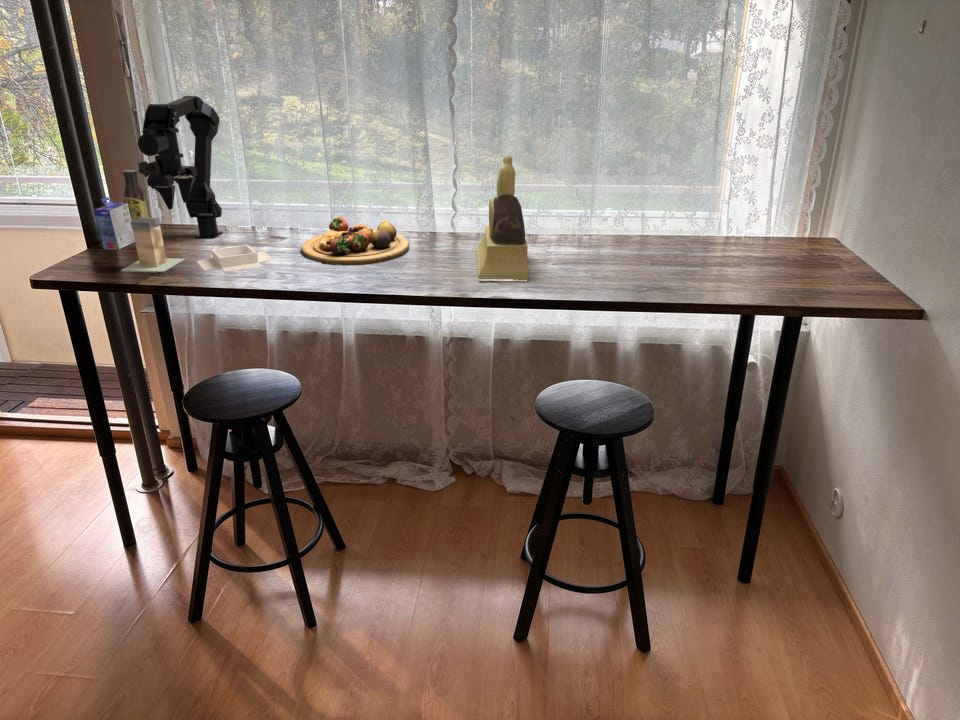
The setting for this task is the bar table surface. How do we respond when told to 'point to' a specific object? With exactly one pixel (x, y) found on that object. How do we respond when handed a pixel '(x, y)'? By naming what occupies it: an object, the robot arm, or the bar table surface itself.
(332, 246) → the wooden plate with food
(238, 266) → the carton
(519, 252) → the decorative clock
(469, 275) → the bar table surface
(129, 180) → the sauce bottle
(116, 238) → the ink cartridge box
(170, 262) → the rubber pad
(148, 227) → the box
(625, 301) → the bar table surface
